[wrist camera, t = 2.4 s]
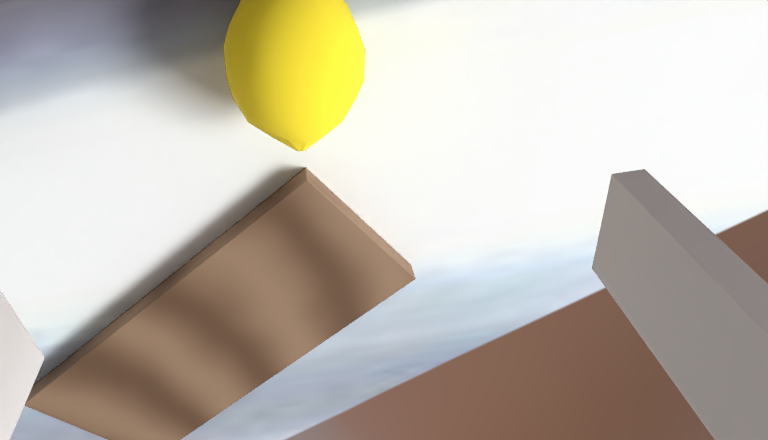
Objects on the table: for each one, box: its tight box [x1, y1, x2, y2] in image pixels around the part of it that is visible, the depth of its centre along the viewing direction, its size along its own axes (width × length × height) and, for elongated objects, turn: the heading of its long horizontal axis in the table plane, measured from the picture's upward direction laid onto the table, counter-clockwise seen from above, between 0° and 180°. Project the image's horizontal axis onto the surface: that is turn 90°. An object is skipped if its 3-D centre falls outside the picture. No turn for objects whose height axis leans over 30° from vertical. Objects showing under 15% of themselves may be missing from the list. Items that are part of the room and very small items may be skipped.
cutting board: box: [25, 168, 415, 440], centre depth 32 cm, size 22×9×1 cm, turn 128°
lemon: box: [223, 0, 365, 151], centre depth 21 cm, size 7×5×5 cm
